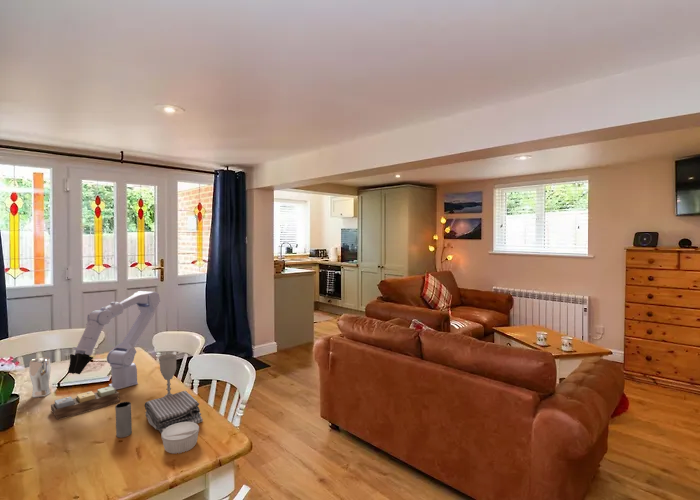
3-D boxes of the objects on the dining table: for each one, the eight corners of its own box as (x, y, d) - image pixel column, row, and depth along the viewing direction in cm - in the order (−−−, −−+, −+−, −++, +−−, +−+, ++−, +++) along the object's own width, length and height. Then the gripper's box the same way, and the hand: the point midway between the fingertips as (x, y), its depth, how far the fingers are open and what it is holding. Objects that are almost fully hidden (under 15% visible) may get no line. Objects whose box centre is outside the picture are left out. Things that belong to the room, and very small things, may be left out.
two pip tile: (91, 395, 156) (91, 390, 155) (95, 399, 152) (95, 394, 152) (76, 399, 152) (76, 394, 152) (80, 403, 148) (79, 398, 148)
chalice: (155, 402, 155) (154, 358, 154) (169, 395, 161) (168, 353, 160) (169, 405, 152) (168, 360, 151) (182, 398, 159) (181, 355, 158)
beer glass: (56, 391, 166) (54, 356, 165) (41, 398, 159) (40, 362, 158) (41, 390, 166) (39, 356, 165) (26, 397, 159) (24, 361, 159)
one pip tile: (111, 390, 161) (111, 385, 161) (115, 394, 157) (115, 388, 157) (97, 394, 157) (97, 388, 157) (101, 397, 154) (101, 392, 153)
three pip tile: (70, 401, 150) (70, 395, 150) (73, 405, 147) (73, 399, 147) (54, 405, 147) (54, 400, 147) (57, 409, 143) (57, 404, 143)
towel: (185, 406, 153) (185, 386, 152) (203, 423, 139) (203, 402, 139) (143, 418, 143) (142, 397, 142) (158, 438, 129) (158, 415, 129)
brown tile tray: (112, 393, 164) (111, 386, 163) (120, 401, 156) (120, 394, 156) (50, 410, 148) (49, 402, 148) (56, 420, 141) (56, 412, 141)
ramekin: (175, 460, 117) (175, 443, 116) (153, 449, 123) (153, 433, 122) (206, 443, 126) (206, 427, 126) (185, 433, 132) (185, 418, 132)
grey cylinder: (115, 439, 128) (114, 408, 128) (116, 432, 132) (115, 403, 132) (131, 435, 130) (130, 405, 130) (132, 429, 134) (131, 400, 134)
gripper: (73, 336, 159) (57, 370, 153) (84, 335, 150) (67, 371, 144) (91, 341, 164) (76, 374, 158) (103, 340, 155) (87, 375, 149)
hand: (73, 373), depth 151 cm, fingers open, 7 cm apart
